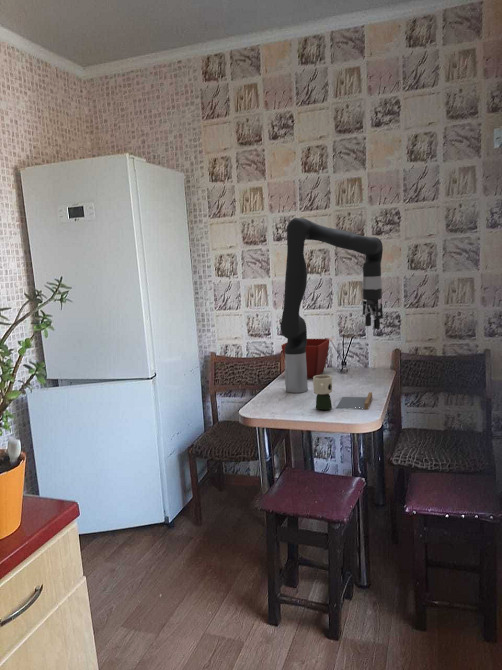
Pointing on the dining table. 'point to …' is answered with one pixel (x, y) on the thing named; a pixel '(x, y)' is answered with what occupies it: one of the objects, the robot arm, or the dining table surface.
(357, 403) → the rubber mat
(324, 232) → the robot arm
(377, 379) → the dining table surface
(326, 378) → the character mug
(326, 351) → the plant pot
